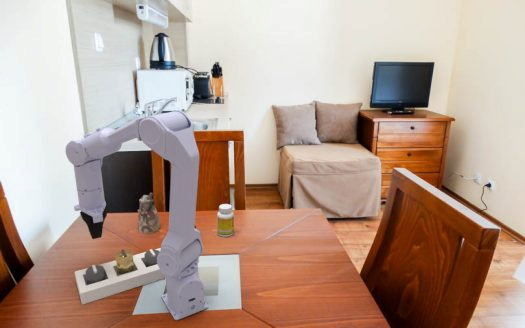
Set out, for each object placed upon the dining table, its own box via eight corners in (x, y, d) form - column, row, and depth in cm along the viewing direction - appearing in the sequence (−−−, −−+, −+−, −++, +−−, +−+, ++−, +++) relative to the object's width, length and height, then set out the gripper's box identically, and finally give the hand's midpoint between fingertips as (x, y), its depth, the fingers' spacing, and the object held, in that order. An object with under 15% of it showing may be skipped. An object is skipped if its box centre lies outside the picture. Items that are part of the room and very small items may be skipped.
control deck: (174, 274, 92) (174, 264, 91) (82, 304, 80) (80, 293, 79) (162, 256, 100) (161, 247, 99) (76, 281, 88) (74, 271, 87)
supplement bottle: (216, 230, 116) (216, 203, 113) (232, 228, 117) (232, 202, 114) (218, 238, 111) (217, 210, 108) (234, 236, 112) (234, 209, 109)
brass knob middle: (135, 271, 89) (134, 253, 87) (119, 276, 87) (117, 258, 85) (131, 263, 92) (130, 246, 90) (115, 268, 90) (113, 251, 88)
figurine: (133, 229, 115) (130, 195, 111) (150, 221, 121) (147, 189, 117) (148, 235, 111) (145, 201, 108) (164, 227, 117) (162, 193, 114)
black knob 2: (163, 269, 93) (162, 253, 92) (148, 274, 91) (146, 257, 90) (158, 262, 96) (157, 246, 95) (143, 267, 94) (142, 250, 93)
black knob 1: (107, 287, 86) (105, 269, 84) (89, 293, 83) (86, 275, 82) (103, 279, 89) (101, 261, 87) (86, 284, 87) (84, 266, 85)
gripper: (68, 181, 89) (75, 229, 93) (75, 200, 77) (83, 254, 81) (98, 176, 92) (103, 223, 96) (109, 194, 81) (115, 246, 85)
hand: (96, 237), depth 89 cm, fingers closed
